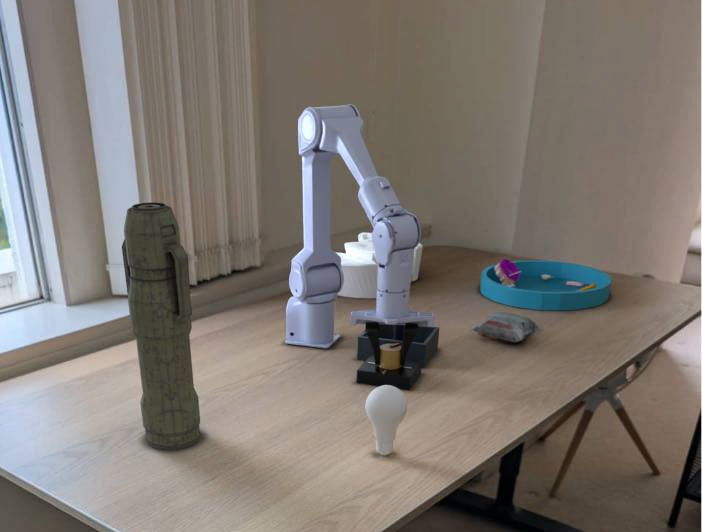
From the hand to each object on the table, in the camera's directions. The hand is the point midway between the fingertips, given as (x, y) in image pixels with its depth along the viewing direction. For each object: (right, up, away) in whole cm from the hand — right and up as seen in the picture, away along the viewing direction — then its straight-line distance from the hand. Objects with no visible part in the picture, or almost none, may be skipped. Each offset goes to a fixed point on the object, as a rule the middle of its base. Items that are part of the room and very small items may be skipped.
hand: (389, 363), depth 147 cm
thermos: (-37, -16, -18) cm, 44 cm away
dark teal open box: (+3, +4, +12) cm, 14 cm away
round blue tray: (+43, +27, +48) cm, 70 cm away
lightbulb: (-4, -19, -25) cm, 31 cm away
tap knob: (0, 0, 0) cm, 0 cm away
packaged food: (+26, +9, +19) cm, 33 cm away
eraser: (+3, +5, +12) cm, 13 cm away
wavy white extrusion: (+2, +31, +56) cm, 64 cm away
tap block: (0, -3, +2) cm, 3 cm away
